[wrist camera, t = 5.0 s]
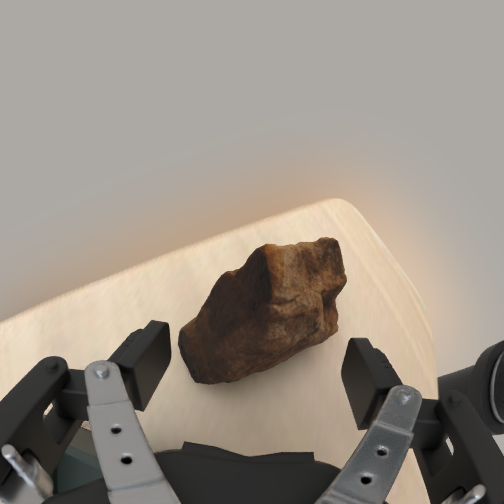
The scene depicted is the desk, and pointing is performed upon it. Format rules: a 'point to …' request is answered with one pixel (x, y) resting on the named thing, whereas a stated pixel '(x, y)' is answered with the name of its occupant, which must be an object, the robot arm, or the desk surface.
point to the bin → (77, 463)
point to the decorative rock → (265, 311)
